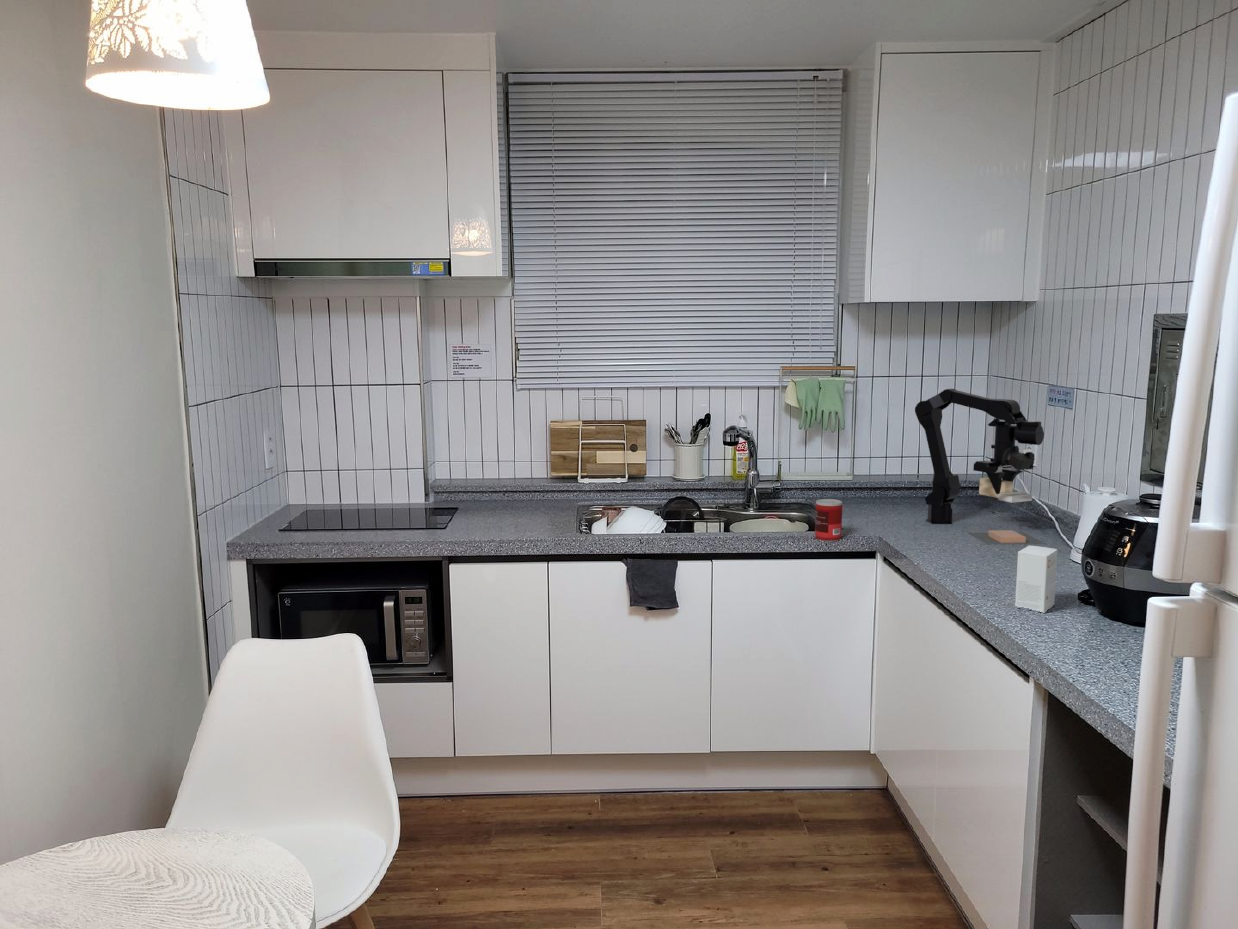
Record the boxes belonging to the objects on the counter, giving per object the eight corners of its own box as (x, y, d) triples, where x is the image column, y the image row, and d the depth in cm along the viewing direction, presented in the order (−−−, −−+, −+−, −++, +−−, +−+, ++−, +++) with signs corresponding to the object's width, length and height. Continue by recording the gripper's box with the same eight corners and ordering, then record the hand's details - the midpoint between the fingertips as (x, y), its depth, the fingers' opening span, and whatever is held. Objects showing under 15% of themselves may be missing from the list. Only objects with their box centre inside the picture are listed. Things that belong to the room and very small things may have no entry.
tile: (988, 536, 271) (1001, 543, 262) (988, 530, 271) (1001, 537, 262) (1011, 535, 271) (1025, 543, 262) (1012, 530, 271) (1025, 537, 262)
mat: (987, 545, 261) (987, 544, 261) (967, 533, 276) (967, 532, 276) (1046, 545, 261) (1047, 544, 261) (1023, 533, 276) (1023, 532, 276)
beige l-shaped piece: (972, 494, 280) (973, 478, 280) (992, 492, 284) (993, 476, 283) (1011, 502, 267) (1012, 485, 266) (1031, 500, 270) (1032, 483, 269)
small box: (1025, 600, 208) (1028, 544, 206) (1054, 605, 204) (1058, 548, 202) (1013, 608, 202) (1017, 551, 200) (1044, 614, 198) (1048, 555, 196)
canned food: (842, 535, 274) (843, 499, 272) (839, 541, 266) (841, 504, 265) (816, 534, 276) (817, 498, 275) (813, 539, 269) (814, 503, 267)
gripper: (1002, 446, 262) (999, 500, 264) (1049, 443, 269) (1046, 495, 272) (973, 442, 272) (970, 494, 274) (1019, 439, 279) (1016, 489, 282)
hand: (1001, 493), depth 275 cm, fingers closed on beige l-shaped piece, 3 cm apart
